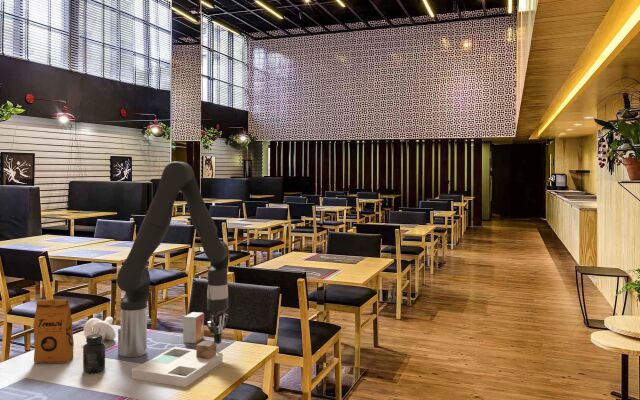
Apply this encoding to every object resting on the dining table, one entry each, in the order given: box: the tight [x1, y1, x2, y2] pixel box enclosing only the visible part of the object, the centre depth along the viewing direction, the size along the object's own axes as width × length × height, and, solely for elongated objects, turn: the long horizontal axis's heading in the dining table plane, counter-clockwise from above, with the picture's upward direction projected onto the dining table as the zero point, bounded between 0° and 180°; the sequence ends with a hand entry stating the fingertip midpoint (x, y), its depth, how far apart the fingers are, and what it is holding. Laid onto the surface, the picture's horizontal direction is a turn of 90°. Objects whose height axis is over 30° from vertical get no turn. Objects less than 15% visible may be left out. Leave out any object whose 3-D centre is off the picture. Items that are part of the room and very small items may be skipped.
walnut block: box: [195, 340, 217, 359], centre depth 178 cm, size 5×5×4 cm
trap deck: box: [131, 346, 223, 388], centre depth 173 cm, size 20×24×3 cm
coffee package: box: [33, 299, 75, 364], centre depth 179 cm, size 10×12×22 cm
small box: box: [182, 311, 205, 344], centre depth 205 cm, size 8×6×10 cm
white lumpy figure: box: [83, 316, 117, 341], centre depth 202 cm, size 11×12×9 cm
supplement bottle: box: [82, 334, 106, 375], centre depth 170 cm, size 7×7×12 cm
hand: (217, 343), depth 185 cm, fingers closed
